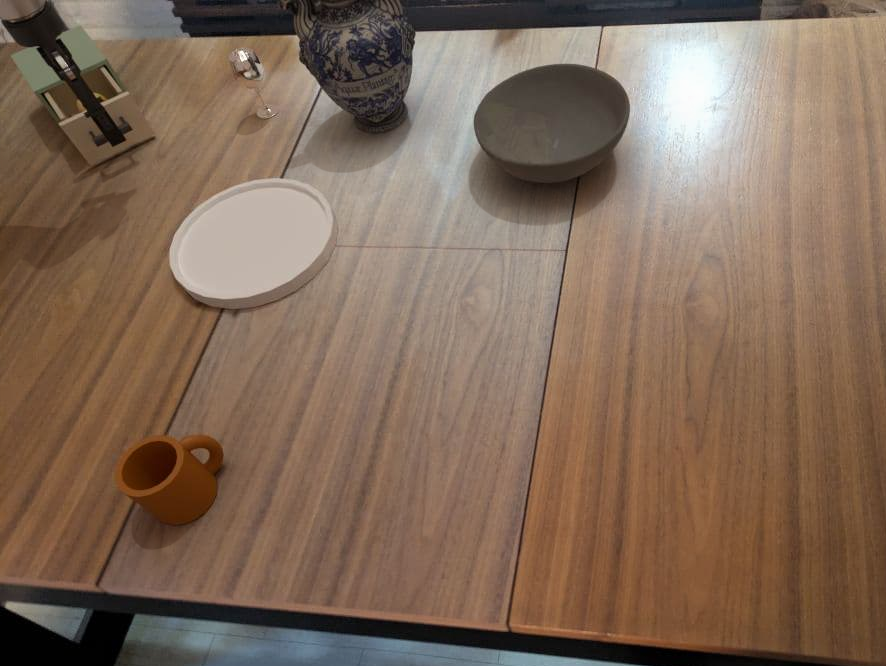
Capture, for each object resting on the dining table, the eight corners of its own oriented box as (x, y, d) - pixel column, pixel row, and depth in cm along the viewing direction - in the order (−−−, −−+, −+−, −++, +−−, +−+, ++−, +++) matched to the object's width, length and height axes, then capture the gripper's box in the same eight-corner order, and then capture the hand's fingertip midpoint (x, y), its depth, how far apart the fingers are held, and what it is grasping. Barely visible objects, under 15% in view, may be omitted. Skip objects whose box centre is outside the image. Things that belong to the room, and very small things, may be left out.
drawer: (163, 144, 137) (137, 104, 129) (97, 177, 133) (67, 137, 126) (128, 98, 146) (102, 58, 139) (66, 128, 143) (36, 88, 135)
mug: (249, 487, 96) (217, 457, 89) (166, 538, 93) (126, 511, 86) (225, 442, 101) (193, 409, 93) (145, 488, 98) (105, 459, 90)
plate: (262, 169, 132) (256, 159, 129) (371, 224, 121) (366, 213, 119) (143, 266, 121) (135, 256, 119) (251, 335, 111) (244, 325, 109)
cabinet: (137, 106, 146) (106, 58, 137) (70, 139, 142) (33, 91, 133) (111, 72, 154) (80, 24, 145) (46, 102, 150) (10, 55, 141)
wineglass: (286, 112, 140) (260, 55, 130) (259, 124, 139) (232, 68, 129) (275, 98, 143) (249, 41, 133) (249, 110, 142) (221, 54, 132)
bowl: (605, 221, 117) (605, 172, 108) (459, 195, 123) (448, 148, 115) (645, 121, 129) (647, 70, 121) (510, 102, 136) (504, 53, 127)
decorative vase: (330, 159, 132) (268, 9, 108) (323, 100, 141) (264, -49, 118) (442, 133, 133) (404, -21, 109) (427, 76, 142) (390, -76, 119)
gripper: (60, 15, 104) (150, 149, 124) (36, -17, 110) (125, 115, 130) (10, 37, 102) (110, 169, 122) (-12, 3, 108) (87, 134, 128)
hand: (118, 141), depth 126 cm, fingers closed
